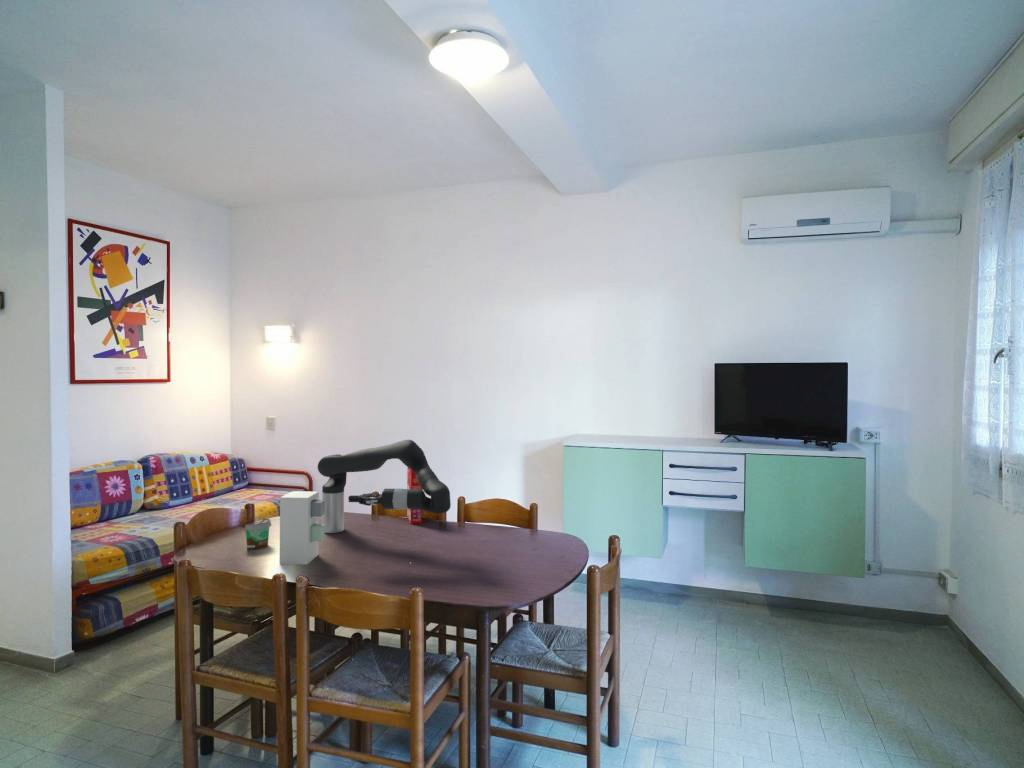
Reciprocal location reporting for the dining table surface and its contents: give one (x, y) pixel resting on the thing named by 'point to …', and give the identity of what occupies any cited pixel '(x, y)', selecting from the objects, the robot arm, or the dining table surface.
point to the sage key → (317, 532)
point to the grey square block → (317, 508)
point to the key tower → (297, 528)
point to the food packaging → (412, 483)
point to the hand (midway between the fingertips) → (349, 498)
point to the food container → (257, 534)
